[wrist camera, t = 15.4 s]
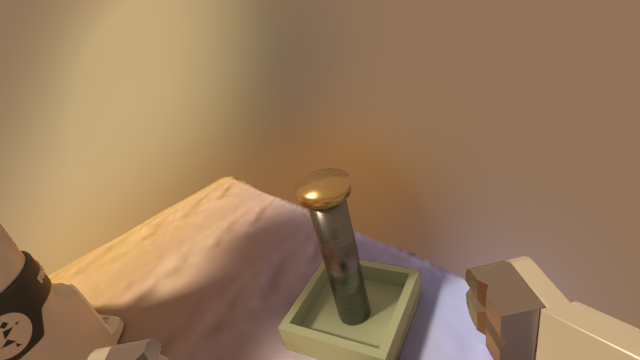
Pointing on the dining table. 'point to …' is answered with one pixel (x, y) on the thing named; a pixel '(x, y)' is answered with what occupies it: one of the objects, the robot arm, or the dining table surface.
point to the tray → (360, 340)
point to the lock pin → (336, 240)
